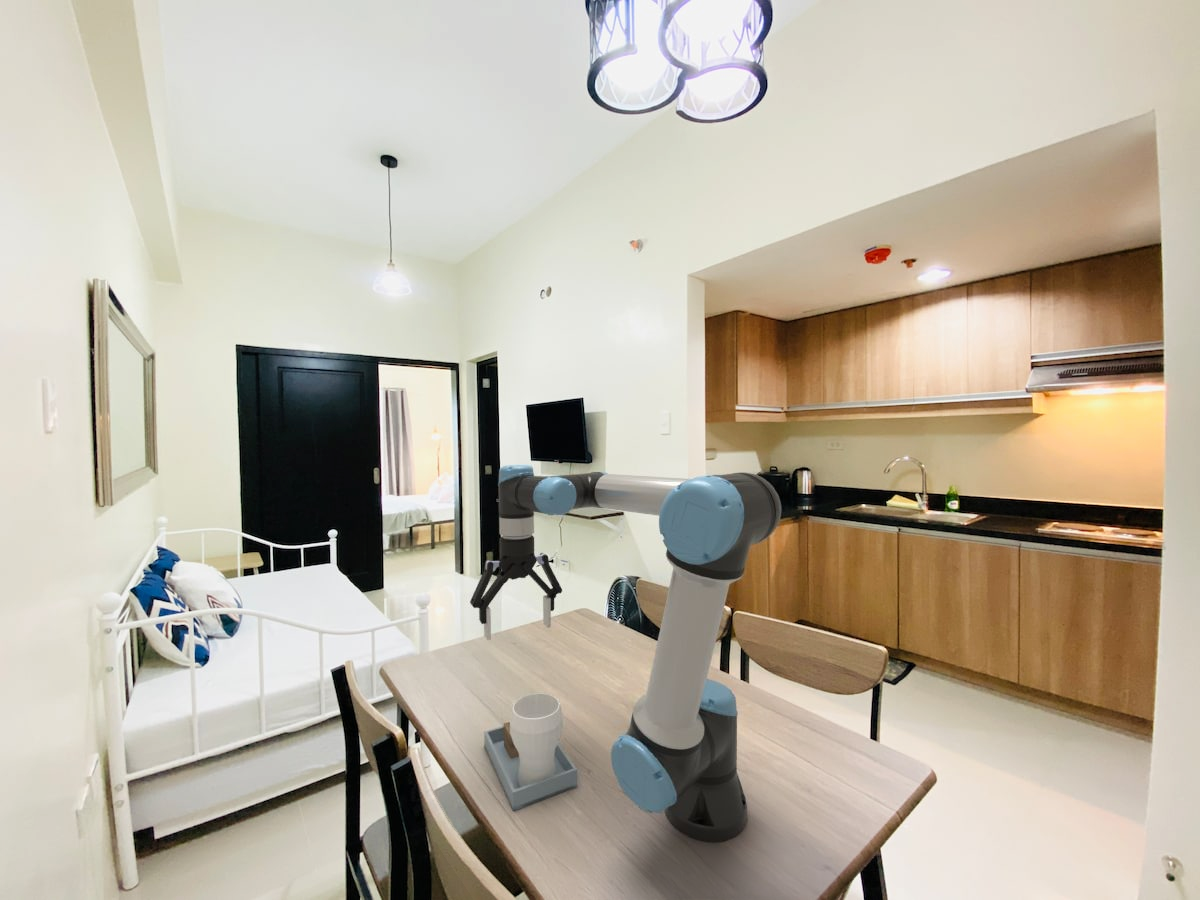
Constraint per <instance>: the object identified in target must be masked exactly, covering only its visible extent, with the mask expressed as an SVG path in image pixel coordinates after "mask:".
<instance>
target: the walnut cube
mask: <svg viewBox="0 0 1200 900" xmlns="http://www.w3.org/2000/svg"><path fill="white" fill-rule="evenodd" d="M503 726H504V747H505V749H506V751H507V753H508V755H509V757H510V758H511V759H512V758H515V757H518V756H519V753H518V751H517V749H516V747H515V745H514V743H513V740H512V737H511V734H510V721H509V722H505V723H503Z"/></svg>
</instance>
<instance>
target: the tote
mask: <svg viewBox="0 0 1200 900" xmlns="http://www.w3.org/2000/svg"><path fill="white" fill-rule="evenodd" d="M483 734H484V735H483V738H484V739H483V740H484V741H483V742H484V746H483V747H484V749H485V751H486V754H487V756H488V758H489V760H490V762H491V765H492V767H493V769H494V771H495V774H496V776H497V778H498V780H499V782H500V785H501V787H502V789H503V792H504V793H505V796H506V799H507V801H508V803H509V804H510V807H511V810H512V811H513V812H516V811H517V810H520V809H523V808H525V807H528V806H531V805H533V804H536V803H538V802H542V801H543V800H547V799H549V798H552V797H554V796H557V795H559V794H562V793H565V792H567V791H570V790H573V789H576V788H578V783H579V782H578V768H577V766H576V765H575V764H574V762H573V761H572V760H571V758H570V757H569V756H568V754H567V752H566V751H565V749H564V748H563V746H562V745H561V744H560V741H559V742H558V744H557V746H556V748H555V754H554V763H555V769H556V775H554V776H551V777H549V778H546V779H543V780H540V781H537V782H535V783H532V784H529V785H526V786H524V787H520V786H519V784H518V773H519V767H520V759H519V756H518V757H515V758H512V759H511V758H510V757H509V755H508V753H507V751H506V749H505V747H504V725H502V726H499V727H498V726H497V727H495V728H491V729H487V730H485V731H483Z"/></svg>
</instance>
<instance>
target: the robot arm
mask: <svg viewBox="0 0 1200 900" xmlns="http://www.w3.org/2000/svg"><path fill="white" fill-rule="evenodd" d="M498 472H499V473H498V482H497V483H498V484H497V486H498V512H499V514H498V515H499V523H498V524H499V535H500V538H499V558H498V560H490V559H486V560H485V561H484V567H483V568H484V569H483V572H482V575H481V576H480V579H479V581H478V584H477V586H476V587H475V590H474V592H473V595H472V597H471V599H470V601H469V604H470V605H471V606H472V607H473V608H474V609H476V608H477V609H478V614H479V615H478V617H479V618H478V620H479V622H480V623H481V625H483V631H484V632H483V634H484V637H485V638H486V639H485V640H487V641H490V640H492V625H491V624H492V616H491V615H492V613H491V611H492V610H491V608H490V607H489V605H490V604H491V603H492V601H493V600H494V598H495V597H496V596H497V594H498V593H499V591H500V590H501V589H502V588H503V586H504V584H506V583H507V582H508V580H517V579H526V577H528V576H529V577H530V578H531V579H532V580H533V581H534V583H536V584H537V585H538V587H540V588H541V590H543V592H544V593H545V595H542V613H543V614H542V616H543V617H542V618H543V619H542V620H543V621H542V622H543V625H544V626H545V627H546V628H552V619H551V618H552V617H551V616H552V614H551V612H553V611H554V610H555V599H556V598H557V595H558V594H561V593H562V592H563V589H562V587H561V585H560V583H559V581H558V579H557V577H556V575H555V573H554V571H553V569H552V567H551V566H550V561H549V556H548V555H547V554H545V553H544V552H541V553H539V554H538V555H535V536H534V535H533V534H534V533H535V519H534V518H535V513H538V514H539V513H540V514H544V515H548V516H564V515H566V514H568V513H569V512H570V511H571V510H578V509H584V508H595V509H596V508H597V509H603V510H604V509H607V510H613V511H621V512H629V513H635V514H636V513H637V514H643V515H644V514H645V515H649V516H650V515H652V516H657V517H658V528H659V533H660V535H662V537H663V539H662V542H663V544H664V546H665V548H666V551H665V552H666V553H665V557H666V560H667V561H668V562H669V564H670V565H671V567H672V572H671V578H670V580H669V581H670V582H669V586H668V590H667V591H668V592H667V595H666V600H665V606H664V610H663V614H662V620H661V624H660V629H659V633H658V638H657V643H656V647H655V652H654V656H653V662H652V666H651V670H650V675H649V681H648V685H647V690H646V694H644V695H642V696H641V697H639V698H638V699H637V700H636V702H635V703H634V706H633V708H632V712H631V713H632V714H631V718H630V723H629V727H628V730H627V731H626V732H625V733H623V734H621V735H618V737H617V739H616V740H615V741H614V742H613V744H612V746H611V751H610V762H611V766H612V767H611V768H612V770H613V774H614V776H615V778H616V779H617V782H618V784H619V786H620V788H621V789H622V791H623V792H624V794H625V795H626V797H628V798H629V800H630V801H631V802H632V803H633V804H634V805H636V806H637V807H638V808H640V810H642V811H644V812H645V813H650V814H661V813H662V812H664V813H665V816H666V817H667V819H668V821H669V822H670V823H671V825H673V826H674V828H676V829H677V830H678V831H679V832H681V833H682V834H684V835H686V836H687V837H690V838H692V839H695V840H699V841H703V842H709V843H710V842H711V843H712V842H713V843H716V842H717V843H718V842H725V841H727V840H728V841H729V840H731V839H733V838H735V837H736V836H738V835H739V834H740V833H741V832H742V831H743V830H744V828H745V827H746V824H747V818H748V804H747V803H748V802H747V799H746V796H745V792H744V790H743V786H742V783H741V781H740V777H739V774H738V770H737V769H738V768H737V767H738V766H737V765H738V759H737V758H738V757H737V755H738V751H737V750H738V714H739V712H738V710H737V698H736V696H735V693H733V692H732V690H731V689H730V688H729V687H728V686H726V685H725V684H723V683H721V682H719V681H715V680H713V679H710V678H709V679H708V675H709V671H710V666H711V663H712V659H713V655H714V650H715V647H716V642H717V637H718V633H719V630H720V625H721V620H722V617H723V613H724V609H725V605H726V601H727V596H728V593H729V589H730V588H729V587H730V584H733V583H735V582H737V581H739V580H741V579H742V578H743V575H744V572H745V568H746V564H747V560H748V557H749V553H750V548H751V547H752V546H754V545H757V544H759V543H761V542H763V541H765V540H766V539H768V538H769V537H770V536H771V535H772V534H773V533H774V532H775V531H776V530H777V527H778V526H779V523H780V520H781V515H782V503H781V500H780V499H781V498H780V496H779V494H778V493H777V491H776V490H775V487H774V486H773V485H772V484H771V483H770V482H769V481H767V480H766V478H763V477H762V476H759V475H757V474H754V473H751V472H734V473H726V474H711V475H710V474H709V475H708V474H707V475H701V476H696V477H693V478H681V477H680V478H679V477H678V478H677V477H663V476H647V475H646V476H645V475H631V474H616V473H615V474H614V473H612V474H611V473H608V472H604V471H603V472H601V471H592V472H586V473H579V474H578V473H576V474H575V473H573V474H563V475H562V474H560V475H551V476H545V475H543V476H542V475H535V473H534V468H533V466H532V465H528V464H527V465H526V464H513V465H511V464H510V465H503V466H501V467H500V468H499V470H498ZM536 563H538V564H539V565H541V568H542V570H543V571H544V574H545V575H546V577H547V579H548V581H549V583H550V585H551V587H552V588H550V587H549V585H548V584H547V583H546V582H545V581H544V580H543V579H542V578H541V576H539V575H538V573H537V572H536V571H535V570H534V569H533V568H534V567H535V565H536ZM497 568H499V569H500V571H499V573H498V574H497V576H496V579H495V580H494V581H493V582H492V584H491V585H490V586H489V588H488V589H487V587H488V585H489V583H490V581H491V578H492V576H493V573H494V572H495V571H496V569H497ZM486 590H487V591H486Z"/></svg>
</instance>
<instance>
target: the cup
mask: <svg viewBox="0 0 1200 900" xmlns="http://www.w3.org/2000/svg"><path fill="white" fill-rule="evenodd" d="M509 722H510V734H511V737H512V740H513V743H514V745H515V747H516V749H517V751H518V753H519V759H520V767H519V773H518V784H519V786H520V787H524V786H526V785H529V784H532V783H535V782H537V781H540V780H543V779H546V778H549V777H551V776H554V775H556V769H555V763H554V754H555V748H556V746H557V744H558V742H559V743H560V740H561V736H562V732H563V728H564V715H563V711H562V706H561V703H560V700H559V699H558V698H557V697H556V696H554V695H552V694H550V693H545V692H536V693H535V692H534V693H530V694H526V695H523V696H521V697H518V699H516V700H515V701H514V703H513V705H512V708H511V711H510V716H509Z"/></svg>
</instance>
